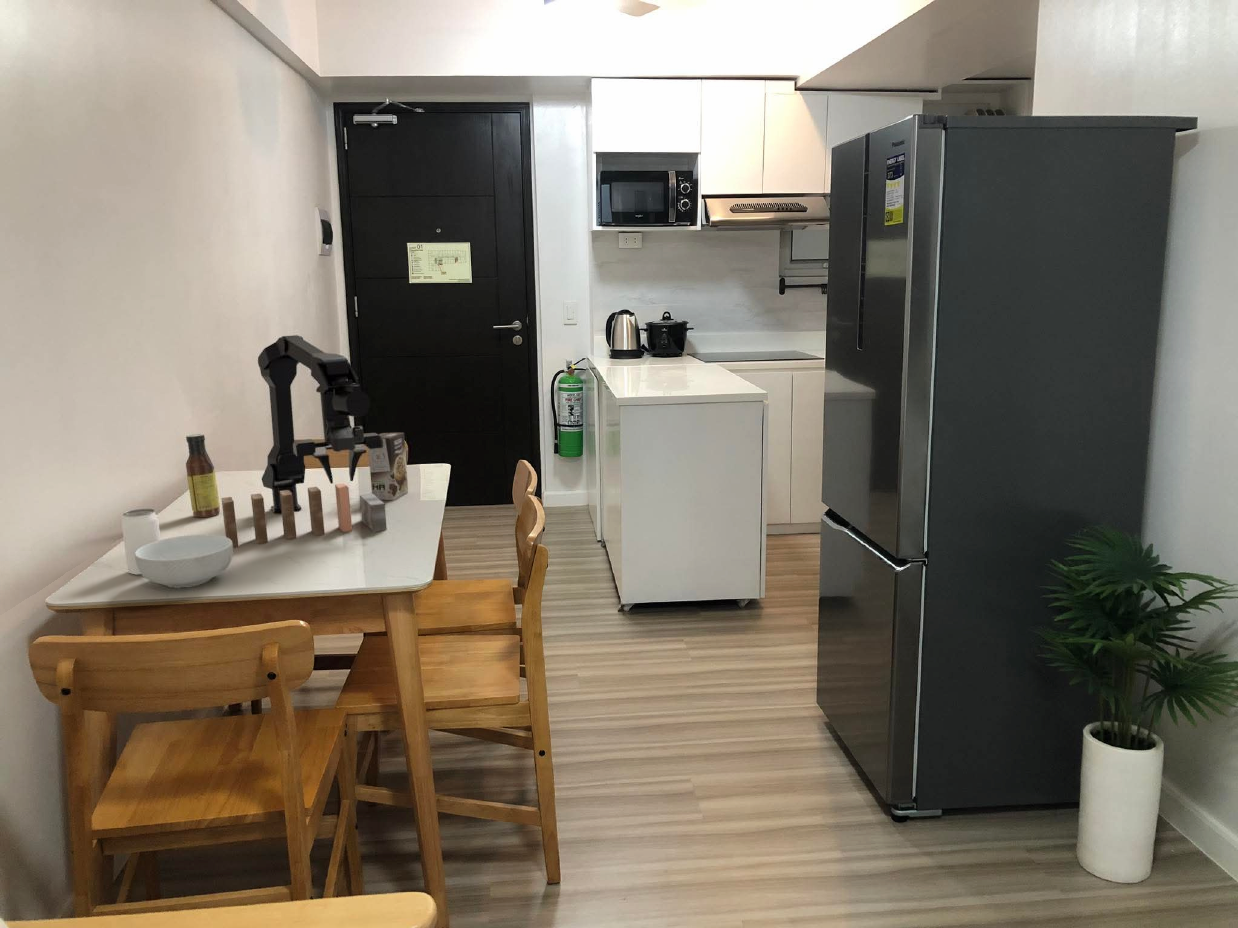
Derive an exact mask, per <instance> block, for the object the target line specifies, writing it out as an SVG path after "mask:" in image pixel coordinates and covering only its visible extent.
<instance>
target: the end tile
mask: <svg viewBox="0 0 1238 928" xmlns="http://www.w3.org/2000/svg"><path fill="white" fill-rule="evenodd" d="M334 488H335V498H336V499H335V500H336V510H337V511H336V512H337V523H338V528H339V530H341V531H342V532H343V533H348V532H353V528H352V527H353V525H352V515H351V514H352V512H351V502H350V501H351V500H350V492H349V490H350V489H349V487H348V486H347V485H346V484H345V483H339V484H338V483H336V484H335V485H334Z"/></svg>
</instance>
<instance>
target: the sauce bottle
mask: <svg viewBox="0 0 1238 928" xmlns="http://www.w3.org/2000/svg"><path fill="white" fill-rule="evenodd" d="M185 438H186V442H187V447H188V453H189V455H188V457H187V460H186V462H185V466H186V467H185V468H186V474H187V475H186V478H187V483H188V489H189V497H190V503H191V510H192V514H193V517H195V518H209V517H214V516H217V515H219V514H220V513H221V512H220V511H221V510H220V508H221V505H220V500H219V499H220V498H219V492H218V485H217V478H216V472H215V471H216V469H215V466H214V464H213V462H212V460H211V458H210V456H209V453H208V452H207V448H206V443H205V441H206V437H205V434H203V433H194V434H188V435H186V436H185Z"/></svg>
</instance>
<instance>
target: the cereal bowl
mask: <svg viewBox="0 0 1238 928" xmlns="http://www.w3.org/2000/svg"><path fill="white" fill-rule="evenodd" d="M233 553H234V548H233V543H232V541H231V540H230V539H229V538H227V537H226V536H224V535H223V536H222V535H217V534H216V535H215V534H190V535H189V534H188V535H181V536H174V537H173V536H172V537H168V538H164V539H163V538H162V539H161V540H159V541H155V542H152V543H149V544H147V545H144V546H142V547H141V548H139V549H138V550H137V551H136V552H135V560H136V565H137V568H138V570H139V572H140V573H141V574H142V575H141V576H142V577H143V578H145V579H146V580H148V581H149V582H152V583H156V584H159V585H160V584H161V585H164V586H166V587H169V588H172V587H174V589H181V588H180V587H186V588H192V587H191V586H193V587H197V586H200V585H199V584H201V585H202V583H203V584H205V582H206V583H208V582H209V581H210V580H211V579H212V578H214V577H216V576H219V575H220V574H222V573H223V572H225V570H226V569H227V568H228V567H229V566H230V564H231V562H232V559H233V555H234V554H233ZM207 581H208V582H207ZM196 585H197V586H196ZM176 587H177V588H176Z"/></svg>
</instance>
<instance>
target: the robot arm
mask: <svg viewBox="0 0 1238 928" xmlns="http://www.w3.org/2000/svg"><path fill="white" fill-rule="evenodd" d="M257 364H258V367H259V371H260V376H261V377H262V378H263V380H264V381H265V383H266V384H267V386H268V388H269V401H270V413H271V415H270V416H271V426H272V441H273V442H272V443H273V445H272V448H271V449H270V451H269V453H268V454H267V465H266V467H265V470H264V472H263V473H262V477H261V482H262V486H263V487H264V488H267V489H270V490H271V493H272V502H273V503H272V504H273V505H271V506H270V509H271V510H272V512H273V513H275V514H277V513H278V514H280V513H282V511H281V500H280V491H285V490H289V491H290V492H291V493H292V495H293V505H294V512H295V511H301V510H302V509H303V508H302V506H301V505H300V504H299V503H298V501H299V500H298V491H297V485H299V484H304V483H305V478H306V476H305V475H306V464H305V457H308V456H312V457H313V458H314V459H318V461H319V462H320V464H321V466H322V468H323V471H324V473H325V474H326V477H327V478H328V481H329V483H330V485H331V484H334V482H333V481H334V480H333V473H332V468H331V463H330V456H329V454H328V453H327V450H328V451H329V450H332V451H333V452H336V453H337V452H341V451H348V474H349V480H350V481H351V482H353V481H354V479H355V478H354V477H355V474H356V470H357V467H358V463H359V461H360V458H361V457H362V455H363V454H367V452H368V451H367V449H366V447H367V448H368V450H369V449H375V448H382V447H383V440H382V437H381V436H380V435H379V434H378V433H376V432H370V433H369V432H367V433H364V428H363V426H362V425H360V426H359V425H358V426H357V425H356V426H353V427H352V425H351V421H350V417H355V418H361V417H364V416H365V415H366V414H367V413H368V412H369V410H370V408H371V400H370V399H369V395H368V394H367V393H366V392H364V391H362V388H361V385H360V383H359V378H358V376H357V375H356V373H355V371H354V369H353V367H352V365H351V363H350V361H349V359H347V357H346V356H344V355H341V354H337V353H330V352H328V353H327V352H324V351H323V350H321V349H320V348H318V347H316V346H315V345H313V344H312V343H310V342H309V341H306V340H305V339H304V337H302V336H301V335H297V334H294V335H283V336H279V338H277V340H276V341H275V342H273V343H271V344H270V345H268V346H266V347H264V349H262V351H261V352H260V354H259V355H258V357H257ZM299 364H301V365H302V366H304V367H306V368H307V369H309V370H310V376H311V377H312V378H313V379H314V381H316V382H317V384H318V385H319V386H318V387H316V390H315V391H316V393H319V394H320V402H321V403H320V404H321V405H320V406H321V418H322V426H323V438H324V441H318V442H317V441H314V440H312V438H307V439H298V440H295V430H294V428H295V427H294V417H293V416H294V415H293V400H292V389H291V387H292V384H293V382H294V380H295V379H296V376H297V375H298V374H297V373H298V365H299Z"/></svg>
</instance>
